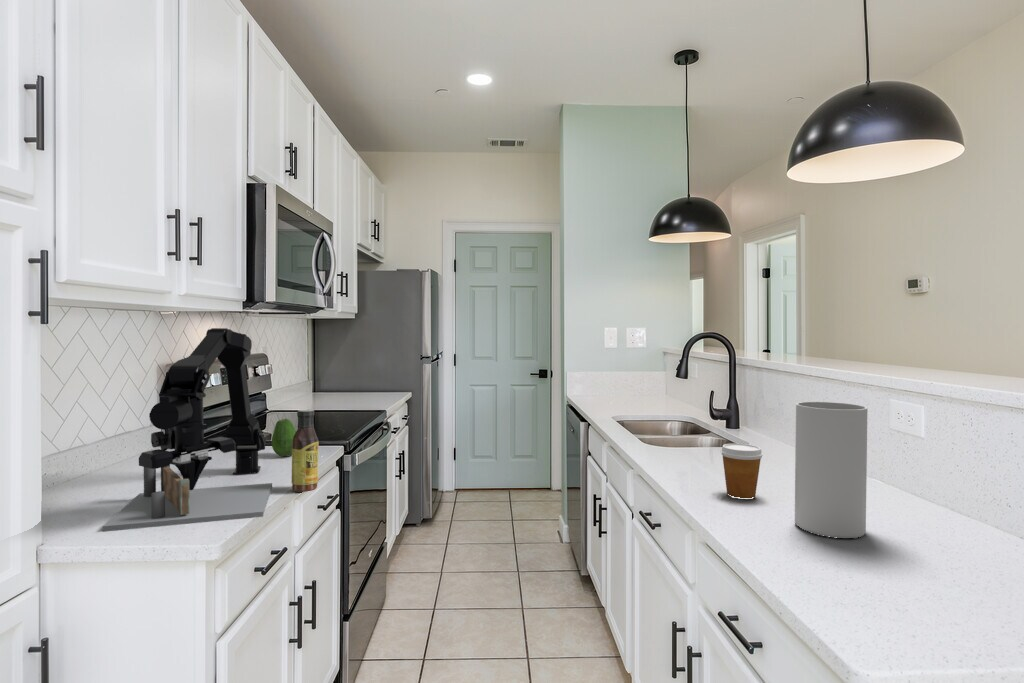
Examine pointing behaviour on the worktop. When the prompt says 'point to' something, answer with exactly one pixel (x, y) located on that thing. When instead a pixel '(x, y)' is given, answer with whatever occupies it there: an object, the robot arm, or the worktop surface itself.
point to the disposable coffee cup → (741, 469)
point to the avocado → (283, 437)
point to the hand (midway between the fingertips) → (190, 489)
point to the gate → (176, 489)
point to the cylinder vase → (831, 468)
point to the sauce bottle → (305, 453)
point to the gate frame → (203, 505)
